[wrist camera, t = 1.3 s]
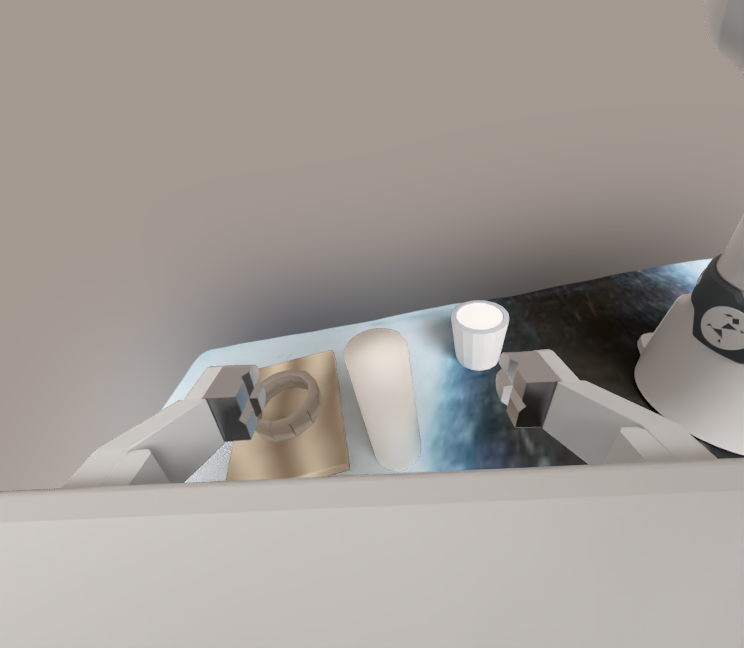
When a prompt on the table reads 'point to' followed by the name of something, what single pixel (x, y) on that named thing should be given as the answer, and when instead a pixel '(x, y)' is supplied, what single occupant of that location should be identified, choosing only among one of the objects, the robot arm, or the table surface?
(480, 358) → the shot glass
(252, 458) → the roll holder
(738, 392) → the robot arm
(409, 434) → the paper roll
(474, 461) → the table surface
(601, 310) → the table surface
